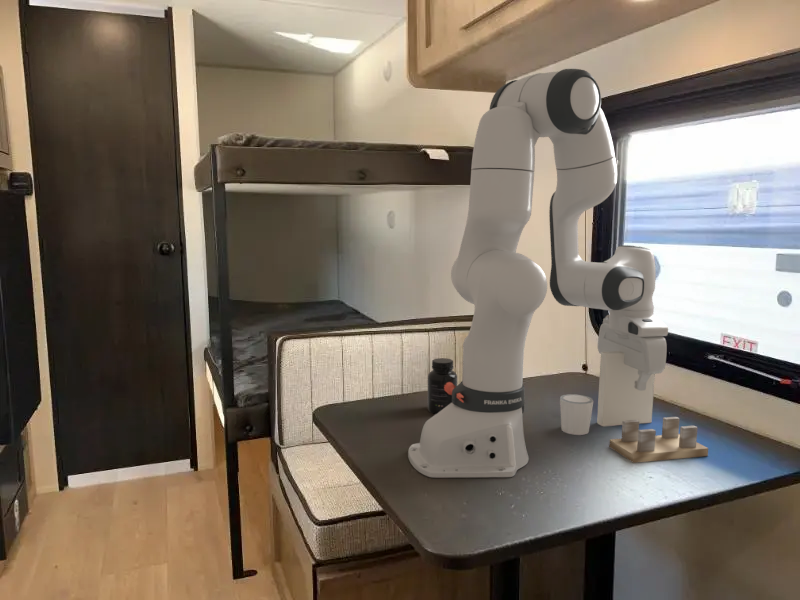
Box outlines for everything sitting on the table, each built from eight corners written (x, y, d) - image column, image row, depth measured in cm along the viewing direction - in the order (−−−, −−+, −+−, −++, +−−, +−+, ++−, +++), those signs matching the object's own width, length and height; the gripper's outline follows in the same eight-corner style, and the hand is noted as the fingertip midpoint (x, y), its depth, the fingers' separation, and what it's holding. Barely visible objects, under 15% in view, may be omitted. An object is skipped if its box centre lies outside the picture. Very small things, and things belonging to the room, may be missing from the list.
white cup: (568, 422, 136) (570, 391, 135) (597, 430, 131) (599, 398, 130) (552, 429, 131) (553, 398, 130) (581, 438, 126) (583, 405, 125)
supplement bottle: (431, 404, 147) (431, 355, 146) (459, 407, 146) (460, 357, 144) (424, 413, 141) (425, 362, 139) (453, 416, 139) (454, 364, 137)
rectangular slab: (604, 428, 133) (609, 355, 130) (596, 423, 136) (601, 351, 133) (654, 424, 135) (659, 352, 133) (645, 419, 138) (650, 349, 136)
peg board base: (633, 462, 114) (634, 434, 113) (609, 446, 122) (610, 420, 121) (707, 455, 118) (710, 428, 117) (680, 440, 125) (682, 414, 125)
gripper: (592, 313, 142) (589, 372, 144) (646, 330, 122) (641, 398, 124) (616, 312, 143) (613, 370, 145) (674, 329, 124) (669, 396, 126)
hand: (627, 383), depth 135 cm, fingers open, 8 cm apart
